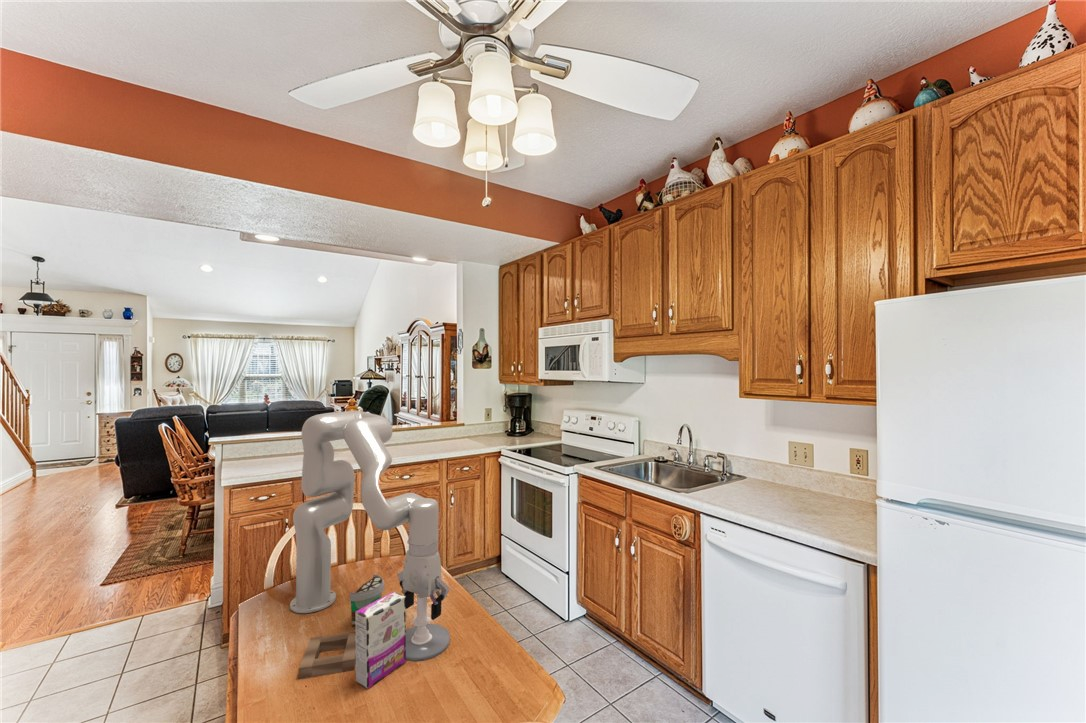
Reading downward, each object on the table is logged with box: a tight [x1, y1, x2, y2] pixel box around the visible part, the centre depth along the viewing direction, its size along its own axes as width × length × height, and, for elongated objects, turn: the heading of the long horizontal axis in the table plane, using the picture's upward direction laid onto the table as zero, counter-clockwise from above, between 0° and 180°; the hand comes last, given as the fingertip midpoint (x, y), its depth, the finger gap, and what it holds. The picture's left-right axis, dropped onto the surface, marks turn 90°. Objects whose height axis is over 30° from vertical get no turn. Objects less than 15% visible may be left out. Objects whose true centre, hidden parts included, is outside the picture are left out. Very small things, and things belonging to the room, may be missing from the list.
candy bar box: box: [354, 591, 407, 690], centre depth 106 cm, size 11×5×16 cm, turn 148°
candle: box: [411, 594, 432, 645], centre depth 117 cm, size 5×5×12 cm
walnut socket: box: [298, 631, 356, 680], centre depth 111 cm, size 12×12×2 cm
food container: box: [348, 573, 385, 628], centre depth 129 cm, size 12×6×10 cm, turn 168°
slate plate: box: [406, 623, 451, 662], centre depth 117 cm, size 14×14×1 cm
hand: (422, 612), depth 117 cm, fingers open, 9 cm apart
